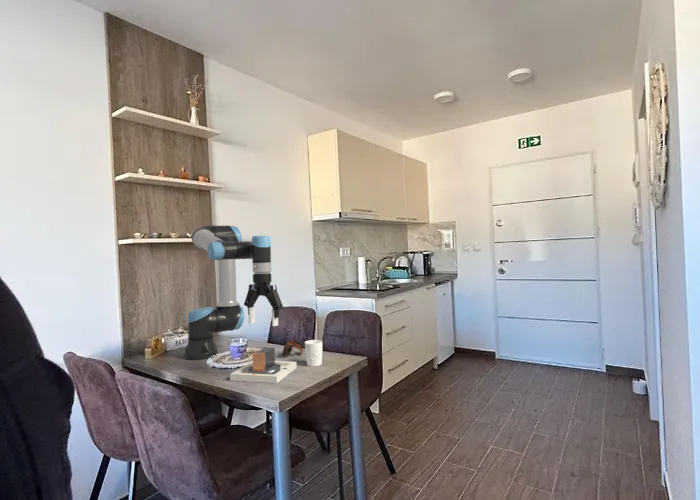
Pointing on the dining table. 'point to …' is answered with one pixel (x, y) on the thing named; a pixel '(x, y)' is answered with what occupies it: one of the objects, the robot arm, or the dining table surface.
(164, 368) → the dining table surface
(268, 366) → the dial
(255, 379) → the dial panel
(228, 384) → the dining table surface
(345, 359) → the dining table surface
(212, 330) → the robot arm
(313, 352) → the white cup
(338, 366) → the dining table surface
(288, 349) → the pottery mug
